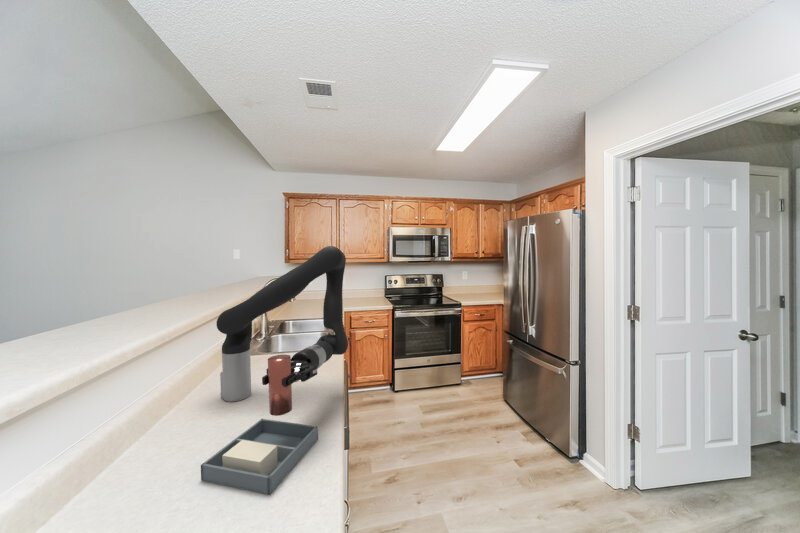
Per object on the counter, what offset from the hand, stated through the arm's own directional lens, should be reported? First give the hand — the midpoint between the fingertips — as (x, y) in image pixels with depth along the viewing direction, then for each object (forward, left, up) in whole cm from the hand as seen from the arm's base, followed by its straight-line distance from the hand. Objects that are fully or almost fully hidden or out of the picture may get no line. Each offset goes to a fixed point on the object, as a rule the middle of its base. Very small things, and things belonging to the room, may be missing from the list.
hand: (274, 382), depth 77 cm
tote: (-1, -3, -19) cm, 19 cm away
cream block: (-1, -8, -18) cm, 20 cm away
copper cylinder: (0, +3, -8) cm, 9 cm away
